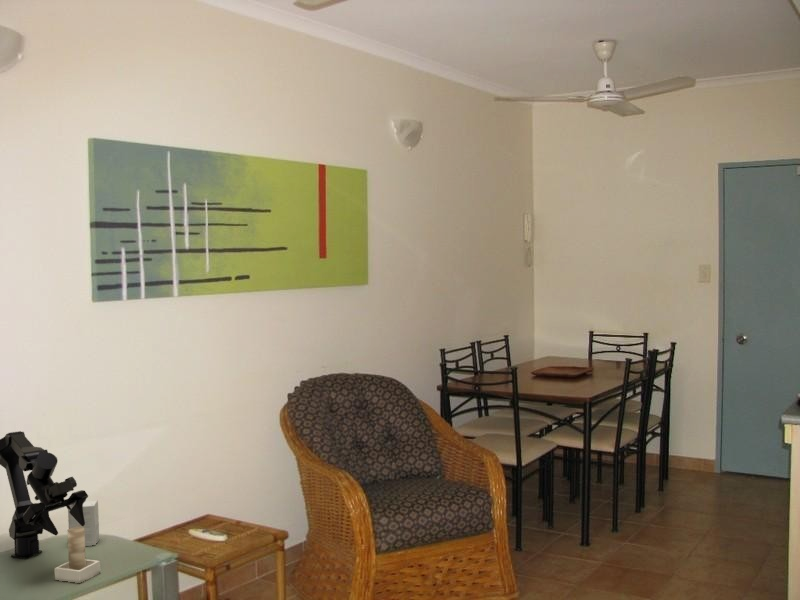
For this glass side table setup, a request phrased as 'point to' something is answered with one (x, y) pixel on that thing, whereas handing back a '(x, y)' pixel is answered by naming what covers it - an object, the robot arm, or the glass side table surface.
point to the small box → (88, 522)
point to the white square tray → (77, 572)
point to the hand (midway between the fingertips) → (70, 529)
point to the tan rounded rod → (76, 548)
